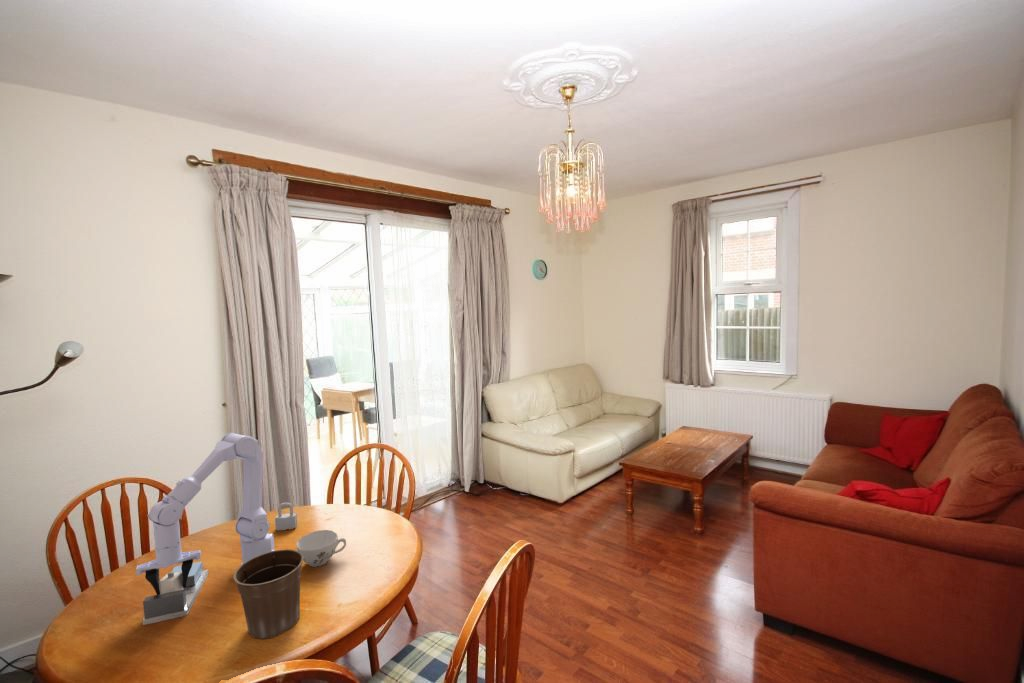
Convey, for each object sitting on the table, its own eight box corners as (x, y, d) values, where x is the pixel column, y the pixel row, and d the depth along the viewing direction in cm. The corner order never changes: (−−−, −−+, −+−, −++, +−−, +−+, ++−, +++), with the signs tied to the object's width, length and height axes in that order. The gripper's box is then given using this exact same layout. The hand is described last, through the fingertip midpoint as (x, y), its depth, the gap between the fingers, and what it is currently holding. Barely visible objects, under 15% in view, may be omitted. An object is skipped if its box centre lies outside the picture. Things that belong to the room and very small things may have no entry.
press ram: (202, 569, 144) (202, 561, 143) (194, 584, 136) (193, 575, 136) (175, 575, 141) (175, 566, 141) (165, 590, 133) (165, 581, 133)
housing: (184, 588, 131) (182, 568, 130) (175, 597, 127) (173, 576, 126) (169, 589, 130) (168, 569, 130) (160, 598, 126) (158, 577, 126)
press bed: (208, 573, 144) (206, 554, 144) (187, 615, 125) (185, 592, 124) (170, 581, 141) (169, 561, 140) (142, 625, 121) (140, 602, 121)
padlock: (298, 524, 176) (296, 499, 175) (294, 529, 172) (293, 504, 171) (278, 526, 175) (277, 501, 174) (275, 531, 171) (273, 505, 170)
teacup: (294, 576, 141) (292, 552, 141) (300, 556, 153) (299, 533, 153) (345, 567, 146) (344, 543, 145) (348, 548, 158) (346, 525, 157)
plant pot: (229, 652, 110) (224, 590, 109) (247, 610, 126) (243, 555, 125) (302, 637, 115) (297, 576, 114) (311, 598, 130) (307, 544, 129)
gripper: (200, 530, 135) (203, 574, 136) (137, 545, 127) (142, 591, 128) (198, 541, 129) (202, 586, 130) (132, 556, 121) (137, 605, 122)
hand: (172, 589), depth 129 cm, fingers closed on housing, 5 cm apart
